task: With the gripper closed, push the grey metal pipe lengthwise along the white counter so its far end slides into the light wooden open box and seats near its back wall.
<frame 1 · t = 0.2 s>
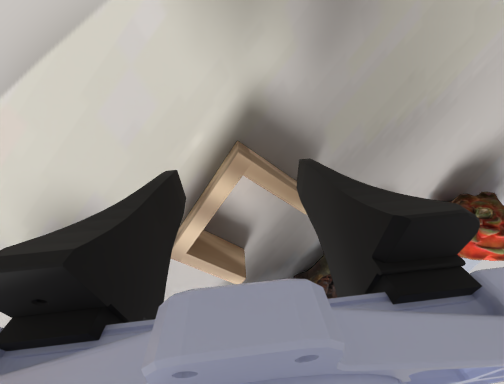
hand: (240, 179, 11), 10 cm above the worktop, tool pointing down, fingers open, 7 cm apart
light wooden open box: (242, 209, 25), on the worktop
metal pipe: (328, 256, 30), on the worktop
dragon fruit: (448, 211, 28), on the worktop
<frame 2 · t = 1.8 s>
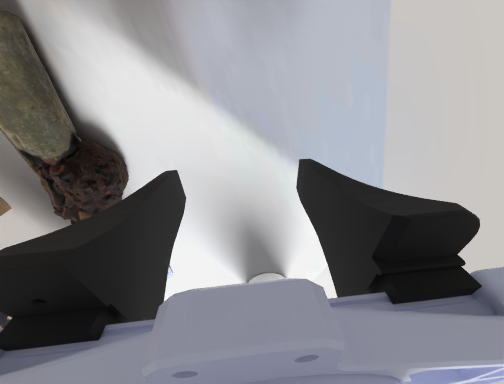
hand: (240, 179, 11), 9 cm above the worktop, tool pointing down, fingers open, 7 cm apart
metal pipe: (84, 139, 19), on the worktop
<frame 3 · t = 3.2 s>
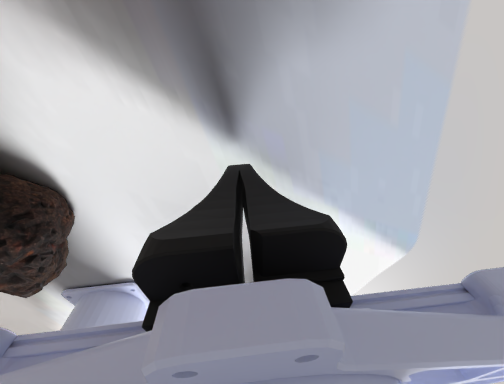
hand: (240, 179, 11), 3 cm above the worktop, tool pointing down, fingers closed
metal pipe: (6, 170, 13), on the worktop
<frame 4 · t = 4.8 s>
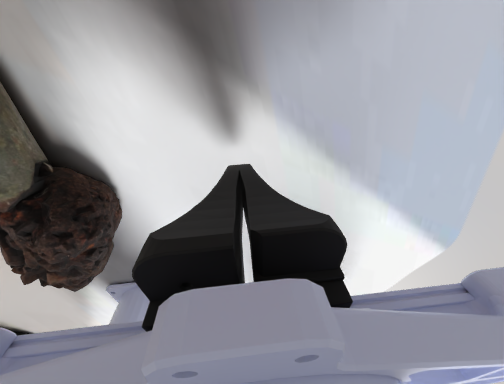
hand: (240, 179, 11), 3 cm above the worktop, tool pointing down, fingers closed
metal pipe: (60, 164, 13), on the worktop
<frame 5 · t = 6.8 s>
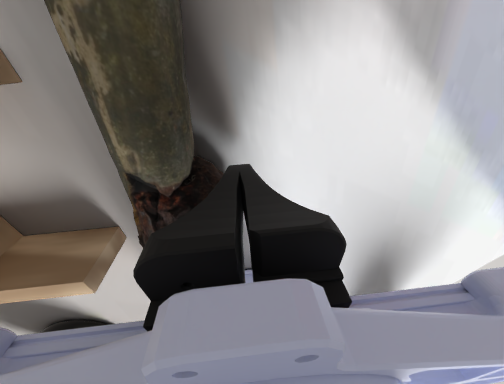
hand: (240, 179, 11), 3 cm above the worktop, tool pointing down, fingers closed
light wooden open box: (22, 177, 13), on the worktop
supplement container: (87, 330, 28), on the worktop
metal pipe: (183, 153, 14), on the worktop, touching gripper
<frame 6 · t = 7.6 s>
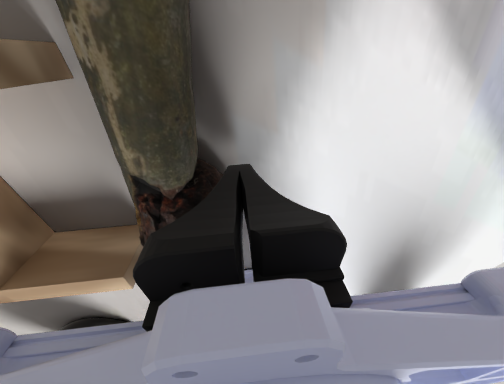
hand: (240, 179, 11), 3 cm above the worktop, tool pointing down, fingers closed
light wooden open box: (62, 173, 13), on the worktop
supplement container: (105, 328, 28), on the worktop
metal pipe: (185, 156, 14), on the worktop, touching gripper
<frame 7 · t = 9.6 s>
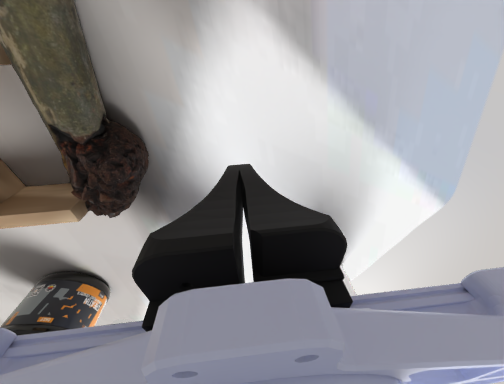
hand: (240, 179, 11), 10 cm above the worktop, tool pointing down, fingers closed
light wooden open box: (26, 135, 18), on the worktop
supplement container: (79, 284, 33), on the worktop
metal pipe: (108, 121, 18), on the worktop
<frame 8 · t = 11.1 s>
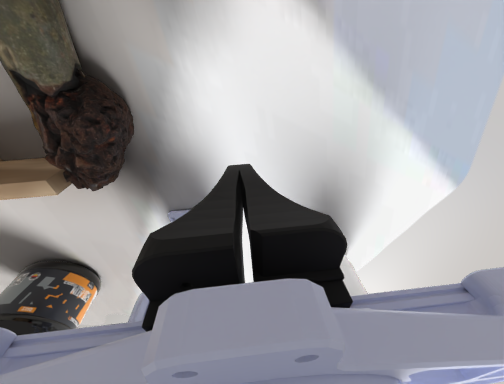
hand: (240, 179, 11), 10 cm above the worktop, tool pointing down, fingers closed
supplement container: (68, 275, 31), on the worktop
metal pipe: (87, 80, 16), on the worktop
bottle: (324, 261, 35), on the worktop
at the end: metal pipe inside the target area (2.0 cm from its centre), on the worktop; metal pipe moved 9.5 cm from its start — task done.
